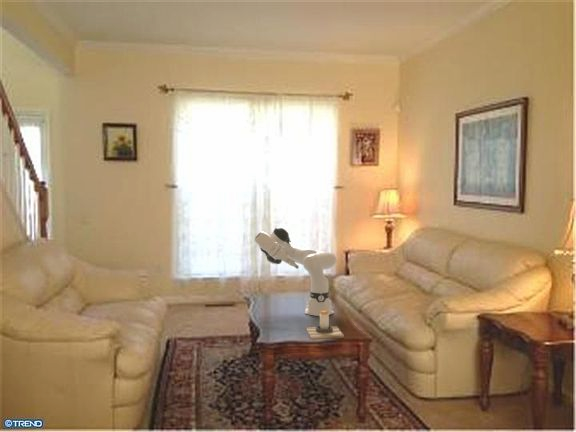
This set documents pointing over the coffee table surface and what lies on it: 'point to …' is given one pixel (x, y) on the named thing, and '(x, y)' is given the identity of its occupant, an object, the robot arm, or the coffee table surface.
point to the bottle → (324, 319)
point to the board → (324, 332)
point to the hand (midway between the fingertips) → (296, 266)
